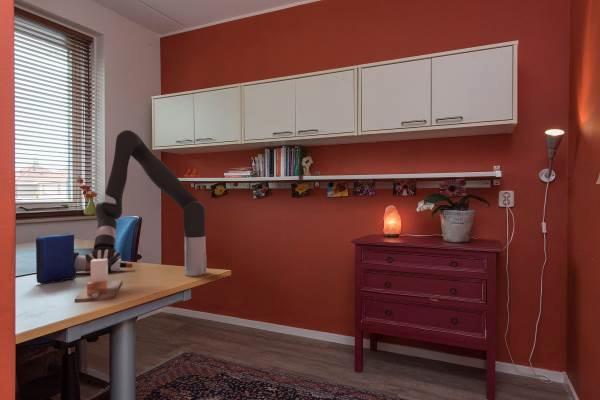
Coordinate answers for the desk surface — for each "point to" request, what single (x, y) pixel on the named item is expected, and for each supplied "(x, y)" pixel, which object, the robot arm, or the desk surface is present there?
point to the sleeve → (99, 270)
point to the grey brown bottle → (85, 266)
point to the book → (55, 258)
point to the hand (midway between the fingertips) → (100, 275)
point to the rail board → (101, 296)
